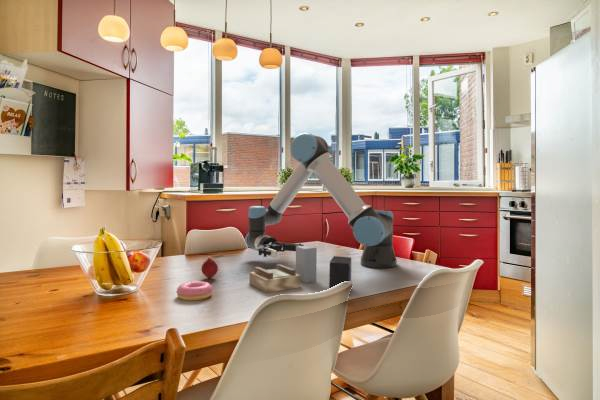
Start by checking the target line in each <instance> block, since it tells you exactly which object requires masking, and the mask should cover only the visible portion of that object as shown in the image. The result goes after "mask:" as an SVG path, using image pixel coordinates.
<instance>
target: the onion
mask: <svg viewBox="0 0 600 400" xmlns="http://www.w3.org/2000/svg"><path fill="white" fill-rule="evenodd" d="M200 270H201V273H202V274H203V276H205V277H206V279H212V278H213V277H214V276H216V275H217V272H218V271H219V267H218V264H217V262H216V261H215V260H214V259H212V258H211V257H210V256H208V257H207V259H206V260H205V261H204V262H203V264H202V265H201V269H200Z"/></svg>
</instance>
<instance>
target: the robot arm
mask: <svg viewBox="0 0 600 400" xmlns="http://www.w3.org/2000/svg"><path fill="white" fill-rule="evenodd" d="M290 154H291V156H292V157H293V159H294V160H296V161H297V162H299V163H298V164H297V165H296V167H295V168H294V169H293V171H292V172H291V174H290V176H289V177H288V178H287V179H286V181H285V182H284V183H283V185H282V186H281V188H280V189H279V191H278V192H277V193H276V195H275V196H274V197H273V199H272V200H271V201H270V203H269V204H268V206H267V207H265V206H262V205H253V206H252V205H251V206H249V207H248V214H247V216H248V231H247V232H248V233H247V234H245V237H244V242H245V245H246V247H248V248H250V250H254V251H258V256H262V255H263V257H264V258H267V256H268V257H271V258H274V259H278V253H279V252H282V253H283V252H286V251H288V252H296V246H305V245H304V244H302V243H301V242H300V243H291V242H286V241H285V242H280V241H278V240H277V239H276V238H275V237H274V236H271V235H267V234H266V227H267V226H273V225H277V223H279V222H281V220H282V218H283V217H282V215H283V213H284V212H285V211H286V210H287V208H288V206H290V204H291V203H292V202H293V200H294V198H295V197H296V196H297V195H298V193H299V192H300V191H301V189H302V188H303V187H304V185H305V184H306V183H307V182H308V180H309V178H311V176H312V174H314V175H315V177H316V178H317V179H318V180H319V182H320V183H321V185H323V187H324V188H325V189H326V191H327V192H328V193H329V195H330V196H331V197H332V198H333V200H334V202H336V204H337V205H338V206H339V208H340V209H341V210H342V212H343V213H344V214H345V215H346V217H347V218H348V222H347V224H348V225H349V227H350V228H351V229H352V234H353V237H354V239H355V240H356V241H357V243H360V245H363V246H364V248H363V251H362V253H361V257H360V265H362V266H363V267H367V268H373V269H376V268H377V269H389V268H391V269H392V268H394V267H395V268H396V267H397V264H398V261H397V260H398V259H397V256H396V254H395V250H394V246H393V245H394V241H393V240H394V239H393V237H394V213H393V212H392V211H391V210H382V209H381V210H379V209H375V208H373V206H372V205H370V204H365V202H364V201H363V199H362V198H361V196H360V195H358V193H357V192H356V191H355V190H354V188H353V187H352V185H351V184H350V183H349V181H347V179H346V178H345V177H344V175H343V174H342V172H341V171H340V170H339V169H338V168H337V167H336V165H335V164H334V163H333V162H332V161H331V157H330V156H331V153H330V150H329V144H328V143H327V141H326V140H325V139H324V138H323V137H321V136H320V135H319V136H318V135H314V134H312V133H309V132H304V133H300V134H298V135H296V136H295V137H294V138H293V139H292V141H291V144H290Z"/></svg>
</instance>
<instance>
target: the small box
mask: <svg viewBox="0 0 600 400" xmlns="http://www.w3.org/2000/svg"><path fill="white" fill-rule="evenodd" d="M328 272H329V274H328V276H329V279H328V281H329V282H328V285H329V286H328V289H329V288H331V287H333V286H335V285H337V284H339V283H341V282H344V281H351V282H352V257H348V256H336V255H334V256H333V257H332V258H331V260H330V261H329V271H328Z"/></svg>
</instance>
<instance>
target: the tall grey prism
mask: <svg viewBox="0 0 600 400" xmlns="http://www.w3.org/2000/svg"><path fill="white" fill-rule="evenodd" d="M317 250H318V249H317V247H314V246H310V245H307V244H306V245H304V246H296V251H295V270H296V274H299V275H301V283H304V284H306V283H307V284H308V283H312V282H313V283H314V282H317V255H318V254H317V253H318V252H317Z"/></svg>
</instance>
